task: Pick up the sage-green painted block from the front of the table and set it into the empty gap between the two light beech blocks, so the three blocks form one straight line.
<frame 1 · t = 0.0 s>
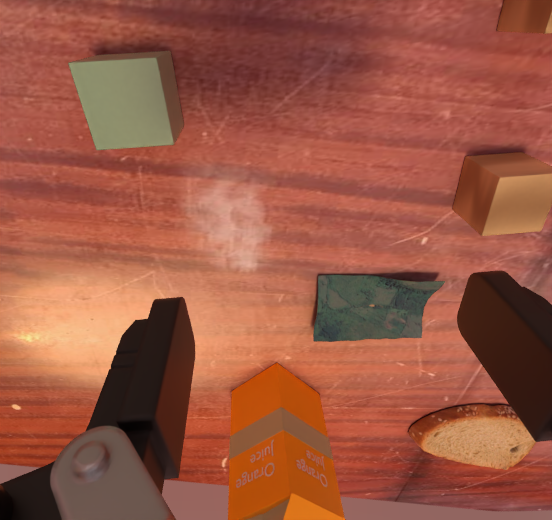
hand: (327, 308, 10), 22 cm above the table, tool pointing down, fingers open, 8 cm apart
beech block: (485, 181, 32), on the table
sage block: (143, 92, 26), on the table
orange juice: (276, 391, 47), on the table
bread slice: (474, 429, 56), on the table
terrain model: (371, 300, 39), on the table
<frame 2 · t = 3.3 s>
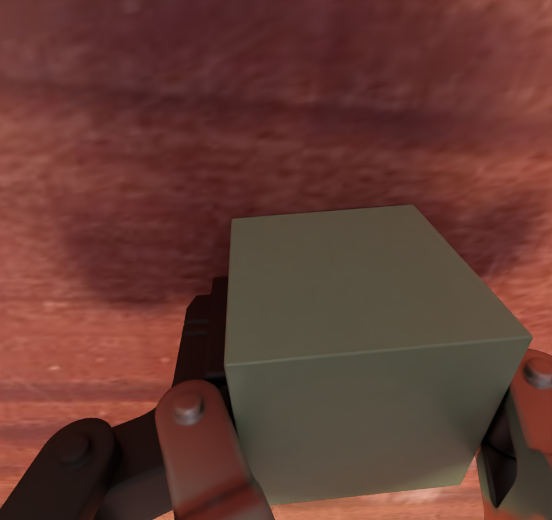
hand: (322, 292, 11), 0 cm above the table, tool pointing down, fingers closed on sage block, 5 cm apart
sage block: (321, 283, 11), on the table, touching gripper
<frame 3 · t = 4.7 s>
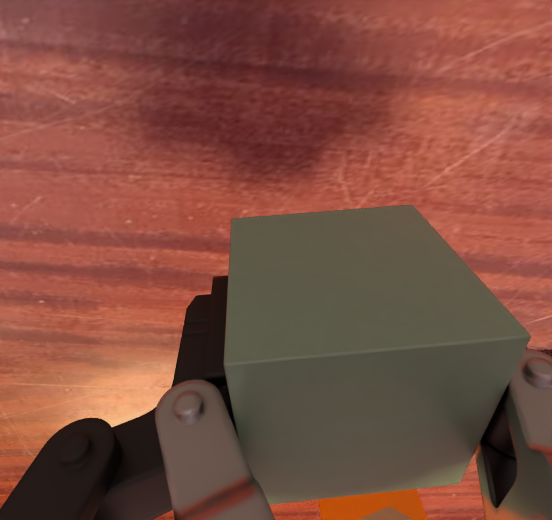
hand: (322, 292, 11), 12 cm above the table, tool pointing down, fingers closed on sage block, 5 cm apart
sage block: (320, 283, 11), point 12 cm above the table, touching gripper
orange juice: (362, 469, 41), on the table
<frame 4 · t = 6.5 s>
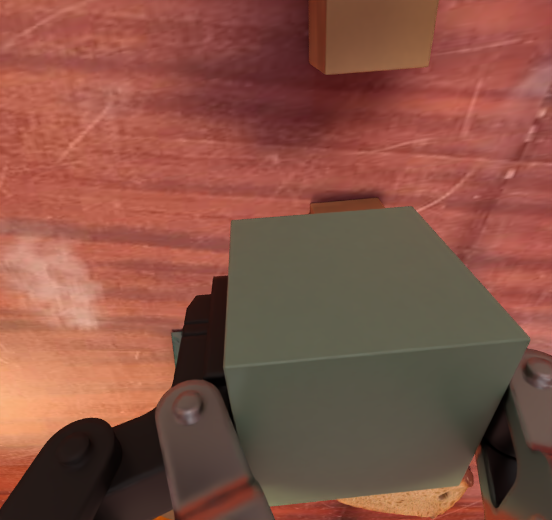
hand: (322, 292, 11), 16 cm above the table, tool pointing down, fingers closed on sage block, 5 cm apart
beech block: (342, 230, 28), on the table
sage block: (320, 284, 11), point 15 cm above the table, touching gripper
bread slice: (399, 474, 51), on the table
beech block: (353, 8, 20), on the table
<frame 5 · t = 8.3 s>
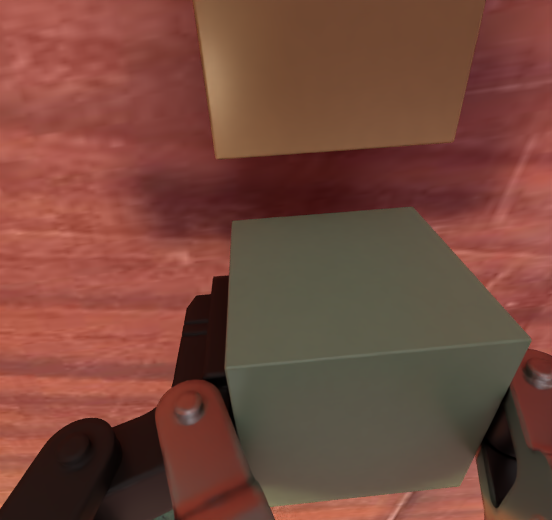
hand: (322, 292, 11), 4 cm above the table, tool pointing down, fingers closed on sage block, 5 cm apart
sage block: (321, 285, 11), point 4 cm above the table, touching gripper
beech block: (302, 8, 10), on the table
when the fingers open (0 cm above the table, at t = 9.8 s): sage block stays where it is, on the table.
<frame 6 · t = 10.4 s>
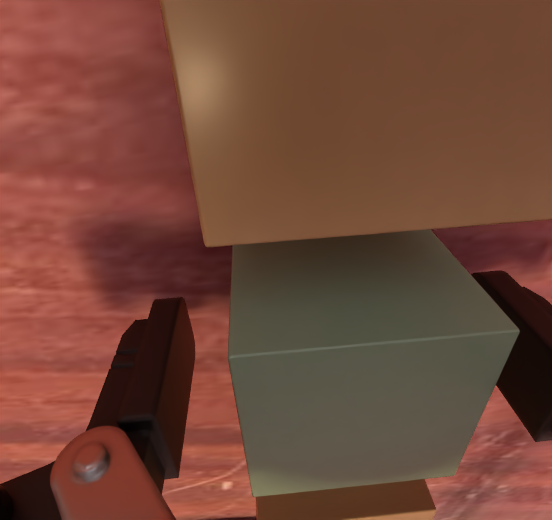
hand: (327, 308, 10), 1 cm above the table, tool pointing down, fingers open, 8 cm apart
sage block: (320, 282, 12), on the table
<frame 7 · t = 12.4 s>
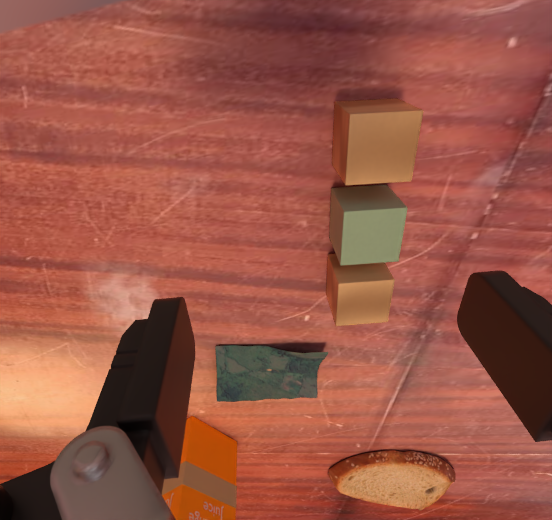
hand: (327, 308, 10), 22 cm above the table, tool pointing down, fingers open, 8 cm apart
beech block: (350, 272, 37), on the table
sage block: (356, 211, 34), on the table
orange juice: (196, 439, 51), on the table
bread slice: (392, 471, 60), on the table
terrain model: (269, 365, 44), on the table
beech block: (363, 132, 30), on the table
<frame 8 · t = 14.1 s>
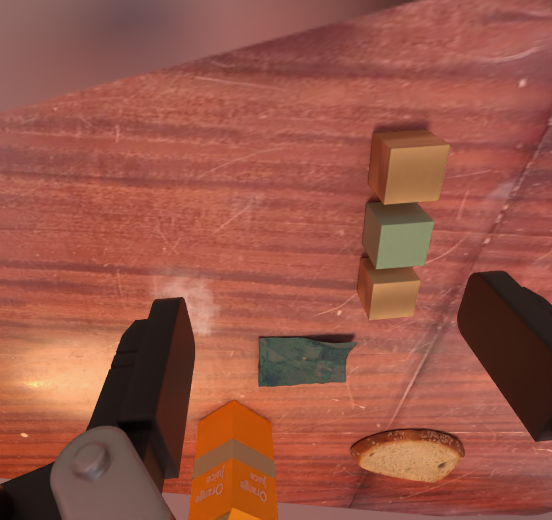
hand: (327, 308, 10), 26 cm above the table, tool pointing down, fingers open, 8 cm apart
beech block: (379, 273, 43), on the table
sage block: (386, 222, 39), on the table
orange juice: (235, 420, 58), on the table
bread slice: (407, 448, 66), on the table
terrain model: (304, 354, 50), on the table
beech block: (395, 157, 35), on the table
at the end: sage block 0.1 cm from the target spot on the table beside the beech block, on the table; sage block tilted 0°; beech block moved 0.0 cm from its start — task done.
